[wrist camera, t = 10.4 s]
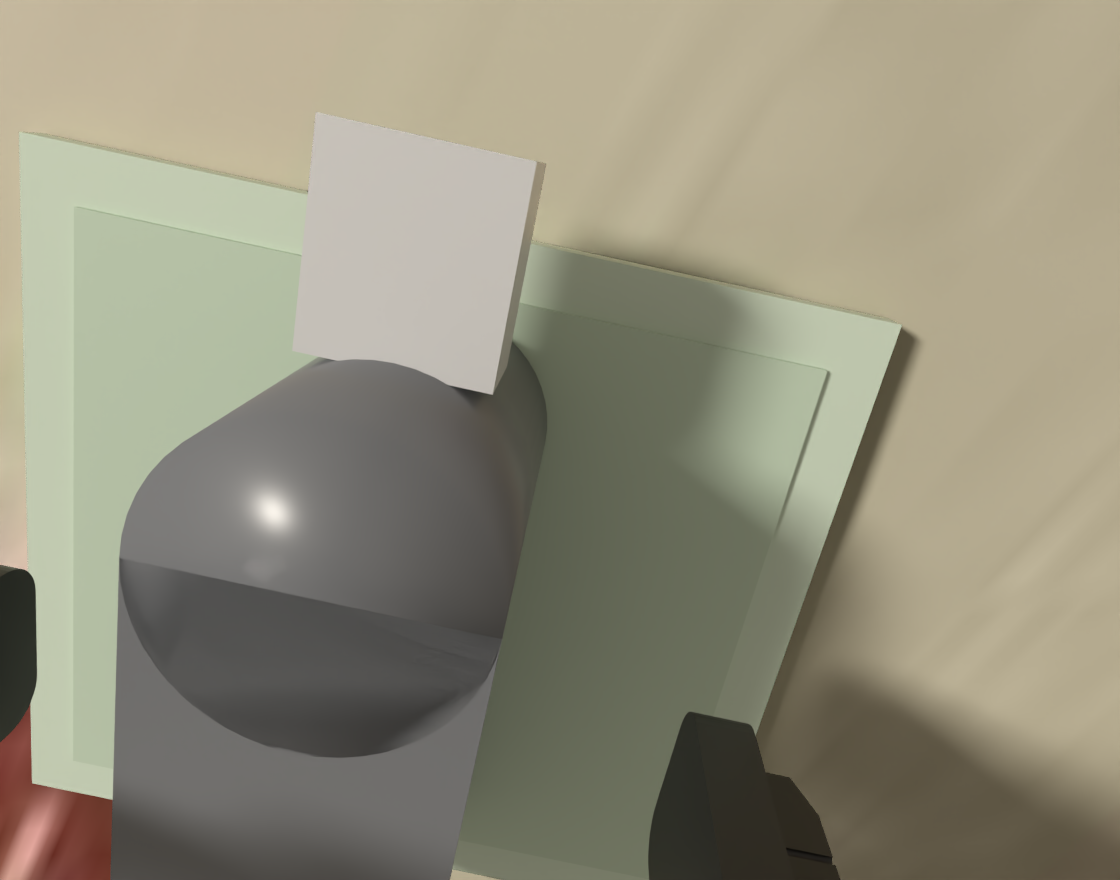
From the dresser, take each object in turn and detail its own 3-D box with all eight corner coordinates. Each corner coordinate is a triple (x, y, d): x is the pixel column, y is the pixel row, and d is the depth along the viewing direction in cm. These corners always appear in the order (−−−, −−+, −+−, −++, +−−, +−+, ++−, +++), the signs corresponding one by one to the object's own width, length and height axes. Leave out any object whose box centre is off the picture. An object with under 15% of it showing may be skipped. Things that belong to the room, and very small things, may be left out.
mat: (45, 133, 11) (13, 131, 10) (888, 318, 11) (904, 325, 10) (51, 763, 14) (28, 787, 14) (687, 894, 14) (691, 923, 14)
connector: (357, 121, 10) (132, 69, 5) (602, 176, 10) (601, 174, 5) (277, 806, 14) (103, 1143, 9) (457, 844, 14) (380, 1198, 9)
